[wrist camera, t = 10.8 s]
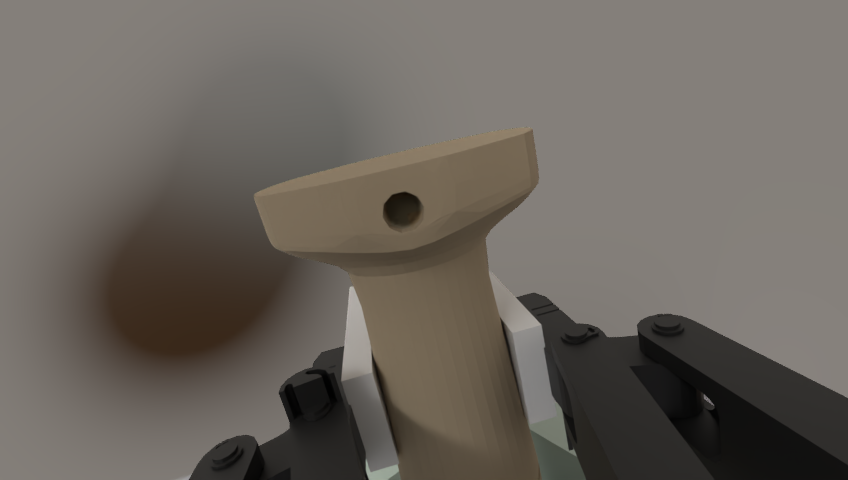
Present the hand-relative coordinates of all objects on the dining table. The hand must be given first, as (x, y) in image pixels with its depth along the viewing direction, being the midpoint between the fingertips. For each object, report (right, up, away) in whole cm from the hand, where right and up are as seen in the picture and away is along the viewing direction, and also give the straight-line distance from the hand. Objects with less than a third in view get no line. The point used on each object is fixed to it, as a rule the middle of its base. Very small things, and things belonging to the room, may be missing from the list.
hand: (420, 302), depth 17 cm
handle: (+3, -10, -3) cm, 11 cm away
